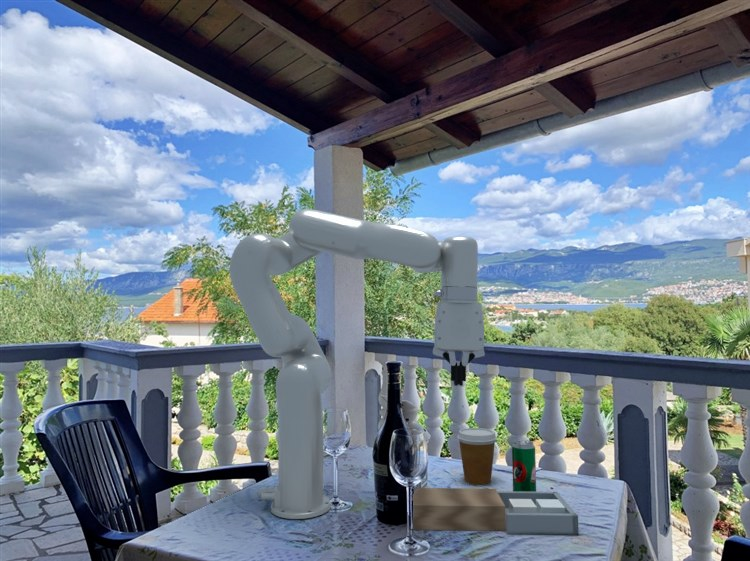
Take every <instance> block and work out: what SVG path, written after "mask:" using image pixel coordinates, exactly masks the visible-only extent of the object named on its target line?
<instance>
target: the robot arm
mask: <svg viewBox="0 0 750 561" xmlns="http://www.w3.org/2000/svg"><path fill="white" fill-rule="evenodd" d="M291 216H292V217H291V218H290V221H289V223H288V229H289V230H288V232H286V233H284V234H282V235H280V236H278V237H274V236H272V235H270V234H266V233H260V232H259V233H258V232H257V233H252V234H249V235H247V236H245V237H244V238H243V239H240V240H241V241H239V242H238V243H237V245H236V246H235V248H234V250H233V253H232V254H231V256H230V260H229V261H230V262H229V276H230V281H231V284H232V287H233V289H234V290H233V291H234V292H235V294H236V296H237V298H238V300H239V302H240V305H241V306H242V308H243V310H244V312H245V315H246V317H247V319H248V321H249V323H250V326H251V327H252V330H253V332H254V334H255V336H256V339H257V340H258V342H259V345H260V347H261V348H262V350H263V352H265V353H266V354H267V355H269V356H271V357H273V358H281V360H282V362H283V364H284V365H283V366H282V367H281V368H280V370H279V371H278V373H277V377H276V380H275V396H276V397H275V398H276V403H277V404H276V405H277V414H278V416H277V418H278V422H277V424H278V432H277V433H278V454H277V456H278V457H277V458H278V464H277V467H278V468H277V471H278V475H277V477H278V478H277V479H278V480H277V482H278V483H277V484H278V485H275V486H274V487H268V486H267V487H262V486H261V487H259V488H258V497H259V498H260V499H261V500H263V501H267V500H272V502H271V504H270V511H271V513H272V514H273V515H274V516H276V517H278V518H282V519H287V520H304V519H310V518H315V517H320V516H321V515H322V516H323V514H326V513H327V512H328V511H329V510H330V509H331V506H332V504H331V503H332V501H331V499H330V498H329V497H327V496H326V495H325V494H324V412H323V402H322V401H323V400H322V394H323V393H325V391H326V390H328V388H329V386H330V384H331V381H332V369H331V366H330V363H329V361H328V359H327V358H326V356H325V354H324V351H323V350H322V348H321V346H320V344H319V342H318V340H317V338H316V335H315V333H314V332H313V330H312V328H311V326H310V325H309V324H308V322H307V321H306V320H305V319H304V318H303V317H301V316H299V315H297V314H292V313H291V312H290V310H289V309H288V307H287V305H286V303H285V302H284V300H283V297H282V295H281V293H280V291H279V289H278V287H277V286H276V285H275V284H274V282H273V280H272V278H271V276H281V275H283V274H286V273H288V272H291V271H293V270H294V269H296V268H297V267H299V266H301V265H303V264H304V263H306V262H308V261H309V260H312V259H313V258H315V257H316V256H318V255H320V254H321V253H323V252H325V253H330V254H333V255H338V256H341V257H346V258H350V259H354V260H366V259H367V260H368V259H371V260H372V259H373V260H378V261H379V260H380V261H385V262H388V263H389V262H390V263H394V264H397V265H403V266H407V267H410V268H411V270H413V271H415V272H417V273H421V274H428V273H435V272H441V276H440V278H441V279H440V280H441V282H440V289H438V290H433V291H434V292H433V294H434V295H433V296H434V298H435V297H437V298H439V299H440V301H439V302H437V305H436V310H435V316H434V317H435V318H434V329H433V331H434V332H433V343H434V346H433V349H432V354H433V356H436V357H441V358H443V359H445V360H446V362H448V364H449V365H450V381H451V382H453V384H454V386H457V387H458V386H460V387H464V386H463V385H464V382H466V381H467V366H468V365H469V363H471V362H472V361H473V360H474V359H476V358H481V357H485V355H486V353H485V348H484V347H485V323H484V322H485V321H484V311H483V307H482V303H481V302H478V259H479V256H478V255H479V254H478V252H479V251H478V250H479V248H478V242H477V240H476V239H475V238H473V237H469V236H453V237H448V238H447V237H446V238H445V239H444V240H438V239H437V238H436V237H435V236H433V234H431V233H428V232H426V231H422V230H417V229H414V228H409V227H404V226H401V225H395V224H389V223H382V222H376V221H370V220H363V219H360V218H359V219H358V218H353V217H350V216H345V215H340V214H335V213H333V212H327V211H323V210H318V209H311V208H303V209H300V210H298V211H296V212H295V213H294V214H293V215H291ZM455 352H461V355H460V356H461V357H460V361H459V364H458V362H457V359H456V353H455Z"/></svg>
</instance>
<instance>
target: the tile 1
mask: <svg viewBox="0 0 750 561" xmlns="http://www.w3.org/2000/svg"><path fill="white" fill-rule="evenodd" d="M509 513H537V507H536V505H535V504H534V502H533V501H532V500H531V499H509Z"/></svg>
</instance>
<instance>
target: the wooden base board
mask: <svg viewBox="0 0 750 561" xmlns="http://www.w3.org/2000/svg"><path fill="white" fill-rule="evenodd" d="M417 488H418V489H416V490H415V491H414V495H413V531H415V530H416V531H417V530H419V531H420V530H423V531H427V530H428V531H429V530H430V531H480V532H481V531H483V532H484V531H492V532H493V531H495V532H496V531H497V532H500V531H501V532H506V516H505V505H504V503H503V501H502V499H501V498H500V496H499V494H498V492H497V488H476V487H475V488H468V487H465V488H464V487H463V488H462V487H461V488H459V487H458V488H455V487H454V488H451V487H449V488H448V487H447V488H446V487H417Z"/></svg>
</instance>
